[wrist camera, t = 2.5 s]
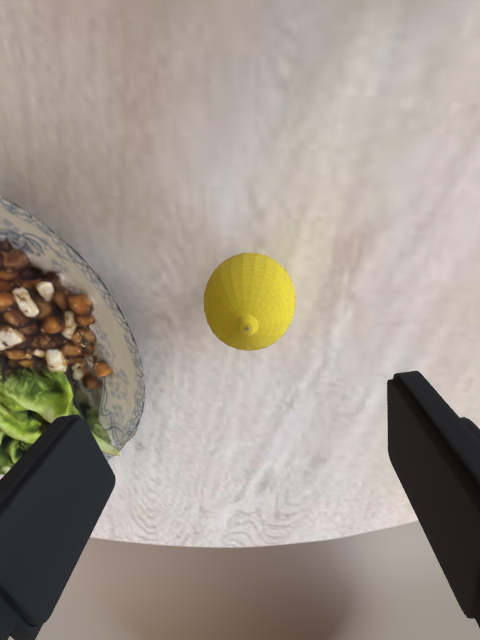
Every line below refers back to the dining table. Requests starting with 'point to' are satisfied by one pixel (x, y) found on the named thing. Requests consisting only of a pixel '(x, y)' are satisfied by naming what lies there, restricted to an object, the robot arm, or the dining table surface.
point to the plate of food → (60, 343)
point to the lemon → (249, 301)
